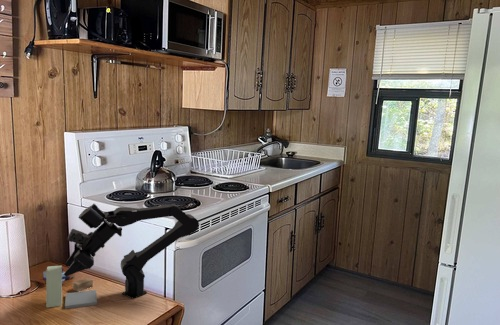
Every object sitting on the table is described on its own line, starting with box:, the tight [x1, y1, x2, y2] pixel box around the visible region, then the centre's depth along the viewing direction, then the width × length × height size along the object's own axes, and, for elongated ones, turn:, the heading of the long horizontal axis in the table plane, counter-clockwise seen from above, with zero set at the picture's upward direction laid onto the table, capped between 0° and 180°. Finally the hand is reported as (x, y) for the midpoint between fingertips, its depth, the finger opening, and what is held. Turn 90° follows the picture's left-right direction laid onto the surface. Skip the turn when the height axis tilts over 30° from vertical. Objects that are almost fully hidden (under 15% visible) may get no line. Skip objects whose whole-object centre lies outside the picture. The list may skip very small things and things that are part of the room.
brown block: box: [72, 277, 94, 292], centre depth 147 cm, size 6×3×3 cm, turn 145°
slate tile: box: [64, 289, 98, 310], centre depth 137 cm, size 10×10×1 cm
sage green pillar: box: [45, 265, 63, 308], centre depth 133 cm, size 4×4×12 cm
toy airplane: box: [42, 267, 84, 283], centre depth 152 cm, size 13×14×4 cm
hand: (65, 270), depth 134 cm, fingers open, 9 cm apart
